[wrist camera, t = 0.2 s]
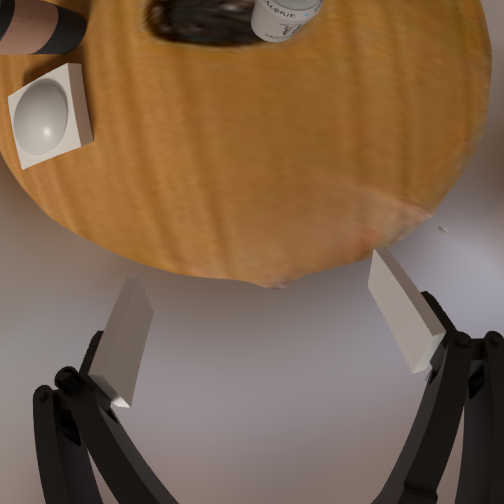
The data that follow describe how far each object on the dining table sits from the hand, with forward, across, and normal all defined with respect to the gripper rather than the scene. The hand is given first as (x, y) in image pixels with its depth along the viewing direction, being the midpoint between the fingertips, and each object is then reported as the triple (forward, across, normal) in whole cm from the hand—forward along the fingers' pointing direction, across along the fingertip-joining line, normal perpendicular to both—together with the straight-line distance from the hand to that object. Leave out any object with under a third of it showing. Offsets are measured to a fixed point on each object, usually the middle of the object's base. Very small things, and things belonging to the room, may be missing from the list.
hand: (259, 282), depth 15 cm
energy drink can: (+28, +6, +20) cm, 35 cm away
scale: (+28, -28, +14) cm, 42 cm away
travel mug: (+28, -24, +27) cm, 46 cm away
